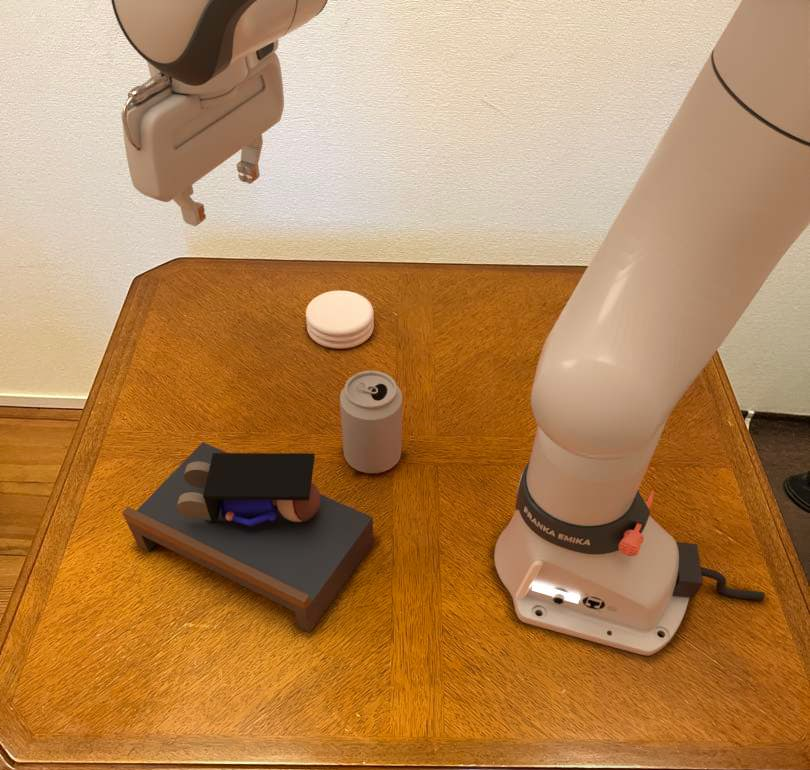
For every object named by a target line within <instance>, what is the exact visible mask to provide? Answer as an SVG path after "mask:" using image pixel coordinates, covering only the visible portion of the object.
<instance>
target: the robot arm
mask: <svg viewBox="0 0 810 770" xmlns="http://www.w3.org/2000/svg"><path fill="white" fill-rule="evenodd" d="M328 1H329V0H110V2H111V6H112V10H113V14H114V16H115V18H116V21H117V23H118V25H119V28H120V30H121V31H122V33H123V35H124V36H125V39H126V40H127V41H128V43H129V44H130V45H131V47H132V48H133V49H134V50H135V51H136V52H137V53H138V55H140V56H141V57H142V58H143V59H144V60H145V61H146V62H147V63H146V64H147V67H148V71H149V76H150V78H149V79H148V80H146V81H145V82H144V83H142V84H141V85H136V86H134V87H133V88H132V89H131V90H129V91H128V93H127V100H126V101H125V103H124V105H123V109H122V110H121V115H120V116H121V123H122V134H123V141H124V148H125V149H124V150H125V155H126V161H127V166H128V171H129V175H130V178H131V179H130V180H131V182H132V183H131V184H132V185H133V187H134V189H136V190H137V191H138V192H139V193H140V194H142V195H144V196H145V197H148V198H151V199H153V200H156V201H159V202H162V203H163V202H164V203H169V202H170V201H173V202H175V204H177V206H178V207H180V212H181V215H182V219H183V221H184V222H185V223H186V224H187V225H191V226H193V227H197V226H198V225H200V224H202V222H204V221H205V220H206V218H207V215H206V213H205V211H206V210H205V206H204V204H203V203H202V202H198V201H195V200H194V199H193V198H192V195H194V188H193V185H194V184H196V183H198V181H199V180H201V179H202V178H204V177H205V176H207V175H208V174H210V172H212V171H213V170H215V169H216V168H218V167H219V166H220V165H222V164H223V163H224V162H226V161H227V160H228V159H230V158H231V157H232V156H235V155H236V154H237V153H238V152H240V151H241V153H240V161H239V162H238V163H236V170H237V176H238V179H239V181H241V182H242V183H247V184H248V185H251V184H252V183H254V182H255V181H256V180H257V179H259V178H260V167H259V162H260V159H261V153H262V148H263V145H264V141H263V134H264V133H266V132H267V131H269V130H270V129H271V128H273V127H274V126H275V125H276V124H278V123H280V121H281V120H282V116H283V113H284V108H285V96H284V84H283V76H282V68H281V62H280V58H279V56H278V54H277V53H276V51H277V50H278V49H279V39H281V38H283V37H285V36H287V35H288V34H291V33H292V32H294V31H296V30H298V29H299V28H301V27H302V26H303V27H304V25H306V24H308V23H309V22H310V21H311V20H313V19H314V18H315V17H317V16H319V14H321V13H322V11H323V10H324V9H325V7H326V5H327V4H328ZM684 97H685V98H684V99H683V101H682V103H681V104H680V106H679V108H678V109H677V111H676V113H675V114H674V117H673V118H672V120H671V122H670V123H669V125H668V127H667V129H666V130H665V132H664V134H663V136H662V137H661V139H660V141H659V142H658V145H657V146H656V148H655V149H654V151H653V153H652V155H651V156H650V158H649V160H648V161H647V164H646V165H645V166H644V169H643V170H642V172H641V174H640V176H639V177H638V178H637V181H636V183H635V185H634V186H633V188H632V190H631V192H630V193H629V195H628V196H627V198H626V200H625V202H624V203H623V205H622V207H621V208H620V210H619V212H618V214H617V215H616V217H615V219H614V221H613V223H612V224H611V226H610V227H609V230H608V232H607V233H606V235H605V237H604V239H603V240H602V242H601V243H600V245H599V247H598V249H597V251H596V252H595V253H594V255H593V257H592V258H591V260H590V262H589V264H588V266H586V267H587V268H586V269H585V271H584V272H583V274H582V276H581V278H580V280H579V281H578V283H577V285H576V287H575V289H574V290H573V292H572V294H571V295H570V296H569V299H568V300H567V302H566V304H565V306H564V307H563V309H562V310H561V312H560V314H559V316H558V318H557V320H556V321H555V324H554V325H553V326H552V329H551V330H550V331H549V334H548V335H547V337H546V339H545V341H544V343H543V345H542V348H541V351H540V355H539V358H538V362H537V365H536V370H535V373H534V378H533V383H532V388H531V393H530V408H531V411H532V412H531V413H532V415H533V417H534V420H535V422H536V424H537V427H536V432H535V436H534V440H533V445H532V449H531V453H530V457H529V460H528V462H527V464H526V465H525V467H524V469H522V473H521V475H520V478H519V481H518V485H517V490H516V494H515V498H516V500H515V505H514V506H515V511H514V512H513V514H512V517H511V519H510V521H509V523H508V524H507V526H506V527H504V529H503V531H502V532H501V533H500V535H499V537H498V538H497V540H496V543H495V548H494V554H493V556H494V557H493V558H494V567H495V569H496V573H497V575H498V577H499V579H500V581H501V582H502V584H503V586H504V587H505V588H506V590H507V591H508V592H509V594H510V596H511V598H512V603H513V607H514V611H515V615H516V616H517V618H518V620H520V622H522V623H525V624H527V625H531V626H535V627H537V628H538V627H539V628H542V629H546V630H549V631H553V632H556V633H559V634H564V635H567V636H571V637H575V638H579V639H582V640H586V641H589V642H593V643H598V644H600V645H605V646H608V647H611V648H614V649H618V650H622V651H626V652H629V653H630V652H631V653H633V654H637V655H641V656H645V657H650V656H652V655H655V654H656V653H657V652H659V651H661V650H662V649H664V647H666V646H667V645H668V644H669V642H670V641H672V639H673V637H674V636H675V635H676V633H677V631H678V629H679V628H680V625H681V623H682V621H683V618H684V616H685V614H686V611H687V607H688V604H689V601H690V598H694V597H696V595H697V594H698V592H699V590H700V588H701V587H702V586H703V583H704V581H703V577H706V578H710V579H712V580H715V581H716V584H715V588H716V591H718V593H720V594H722V595H723V596H725V597H728V598H731V599H739V600H741V599H742V600H743V599H744V600H756V601H764V599H765V596H766V595H765V592H764V591H756V590H741V589H734V588H730V587H728V586H726V585H727V578H726V576H725V575H723V574H722V573H721V572H719V571H717V570H714V569H711V568H708V567H703V566H701V562H700V561H701V560H700V554H699V547H698V543H693V542H680V541H676V540H675V538H674V537H673V535H671V534H670V533H669V532H668V531H667V530H666V529H664V528H663V527H662V526H661V525H660V524H659V523H658V522H657V521H656V520H655V519H654V518H653V517H652V516H651V515H650V514H651V511H650V508H651V505H652V503H653V501H654V495H655V494H654V493H655V491H654V489H652V490H651V491H650V494H649V495H648V498H647V500H646V501H645V500H644V498H643V496H642V495H641V493H640V491H639V489H640V487H641V484H642V482H643V479H644V477H645V474H646V473H647V470H648V468H649V465H650V463H651V461H652V458H653V456H654V454H655V451H656V449H657V446H658V443H659V442H660V439H661V436H662V435H663V431H664V429H665V426H666V424H667V422H668V419H669V417H670V415H671V414H672V412H673V410H674V409H675V407H676V406H677V405H678V403H679V402H680V400H681V399H682V398H683V397H684V395H685V394H686V393H687V391H688V390H689V388H691V386H692V385H693V383H694V382H695V381H696V379H697V378H698V377H699V375H700V374H701V373H702V371H703V370H704V369H705V367H706V366H707V364H708V363H709V362H710V360H711V359H712V358H713V356H714V355H715V354H716V353H717V351H718V350H719V348H720V347H721V345H722V344H723V343H724V341H725V340H726V338H727V337H728V336H729V334H730V333H731V332H732V330H733V329H734V328H735V326H736V324H737V323H738V321H739V320H740V319H741V317H742V316H743V314H744V313H745V311H746V310H747V309H748V307H749V306H750V304H752V301H753V300H754V298H755V297H756V295H757V294H758V293H759V291H760V290H761V288H762V286H763V285H764V284H765V282H766V281H767V279H768V278H769V276H770V275H771V273H772V272H773V271H774V269H775V268H776V266H777V265H778V264H779V262H780V261H781V260H782V258H783V257H784V256H785V254H786V253H787V252H788V251H789V249H790V248H791V247H792V245H793V244H794V243H795V242H796V240H798V238H799V237H800V236H801V234H803V233H804V231H805V230H806V229H807V227H808V226H809V225H810V0H741V1H740V3H739V4H738V6H737V8H736V10H735V12H734V13H733V15H732V17H731V18H730V21H729V22H728V23H727V25H726V27H725V28H724V30H723V32H722V33H721V35H720V37H719V38H718V40H717V42H716V43H715V45H714V48H713V49H712V50H711V53H710V54H709V55H708V58H707V59H706V61H705V62H704V64H703V66H702V67H701V69H700V71H699V73H698V75H697V76H696V78H695V80H694V82H693V84H692V85H691V87H690V89H689V90H688V92H687V94H686V96H684ZM537 614H540V616H539V615H537ZM659 635H661V637H660V636H659Z"/></svg>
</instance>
